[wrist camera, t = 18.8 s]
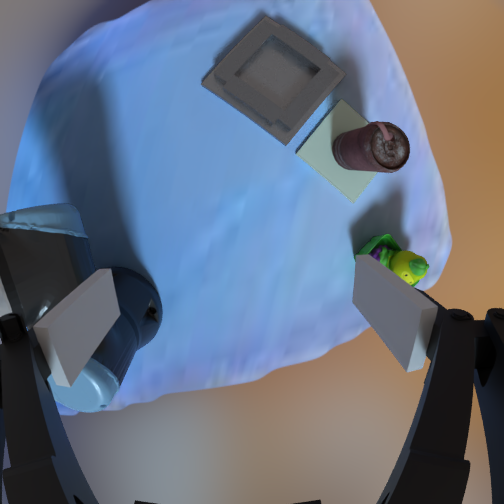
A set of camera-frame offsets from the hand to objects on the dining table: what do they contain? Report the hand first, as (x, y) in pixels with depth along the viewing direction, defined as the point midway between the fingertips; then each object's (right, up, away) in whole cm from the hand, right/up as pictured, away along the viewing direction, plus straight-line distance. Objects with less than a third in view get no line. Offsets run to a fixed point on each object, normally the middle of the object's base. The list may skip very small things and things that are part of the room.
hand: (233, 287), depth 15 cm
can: (+16, +18, +28) cm, 37 cm away
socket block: (+5, +29, +25) cm, 38 cm away
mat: (+16, +18, +29) cm, 37 cm away
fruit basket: (+23, 0, +34) cm, 41 cm away
